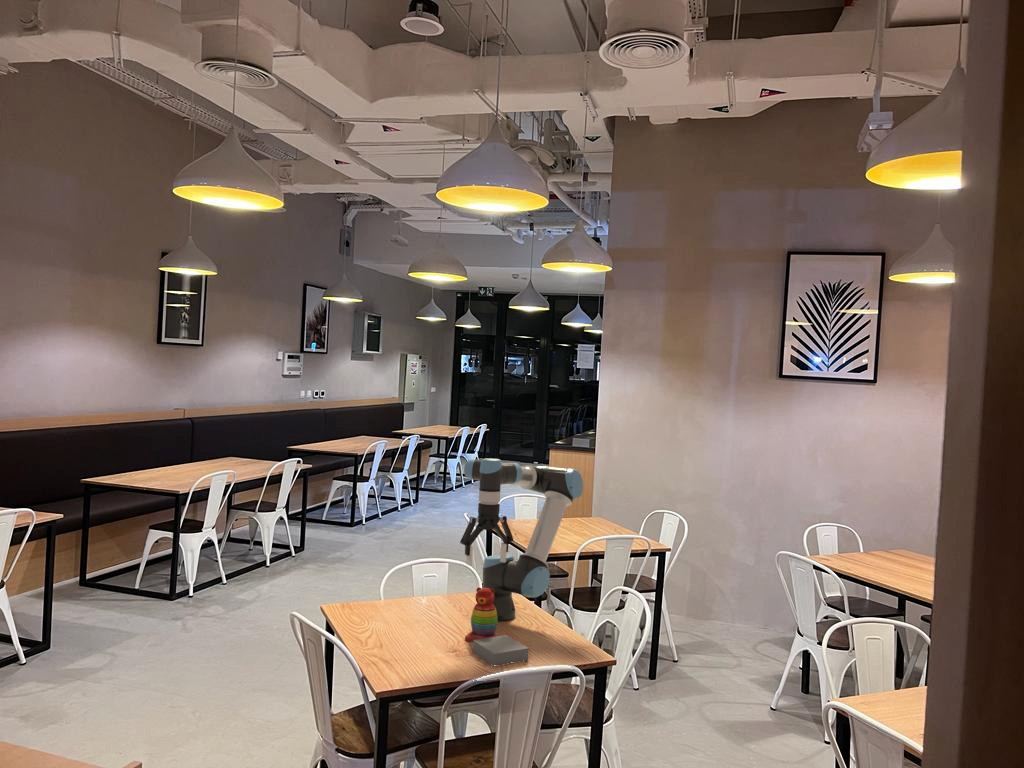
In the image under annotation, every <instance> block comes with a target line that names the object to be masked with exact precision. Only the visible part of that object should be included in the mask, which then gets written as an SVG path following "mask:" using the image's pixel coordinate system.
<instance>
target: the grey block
mask: <svg viewBox="0 0 1024 768" xmlns="http://www.w3.org/2000/svg"><path fill="white" fill-rule="evenodd" d="M529 649H530V648H529V647H528V646H526V645H524V644H522V643H521V642H520V641H517V640H516V639H514V638H512V637H511V636H509V635H508V634H504V635H498V636H497V635H496V637H490V638H483V639H477V640H473V642H472V653H473V654H474V655H476V656H477V657H479V658H481V659H482V660H483V661H484V662H486V663H488V664H489V663H490V664H492V665H493V666H494V665H500V666H503V665H502V664H505V665H508V664H507V663H511V662H517V663H519V662H518V661H522V662H524V661H523V660H528V661H529ZM490 664H489V665H490ZM511 664H512V663H511ZM492 665H491V666H492ZM493 666H492V667H493ZM494 667H495V666H494Z"/></svg>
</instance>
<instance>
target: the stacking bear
mask: <svg viewBox="0 0 1024 768" xmlns="http://www.w3.org/2000/svg"><path fill="white" fill-rule="evenodd" d="M493 601H494V589H489V588H482V587H477V588H476V593H475V602H476V604H475V605H474V607H473V609H472V613H471V617H470V624H471V625H470V626H471V631H470V632H468V633H467V634H466V635H465V637H464V641H466V642H469V643H473V640H477V639H483V638H490V637H496V636H497V634H496V631H497V626H498V622H499V621H498V618H497V612H496V608H495V606H494V605H493V604H492V603H493Z"/></svg>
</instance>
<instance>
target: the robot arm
mask: <svg viewBox="0 0 1024 768" xmlns="http://www.w3.org/2000/svg"><path fill="white" fill-rule="evenodd" d="M463 472H464V476H465V477H466V478H467V479H470V480H473V481H479V487H478V488H479V489H478V490H479V491H478V501H479V503H478V506H477V510H478V511H477V515H478V516H477V517H474V516H470V517H469V522H468V524H467V527H466V529H465V531H464V533H463V535H462V537H461V540H460V541H459V543H460V544H461V545H464V555H465V556H466V562H465V563H466V565H468V566H473V549H474V546H473V543H475V542H474V541H475V540H476V539H477V538H478V537H479V535H480V534H481V533H482V532H483V531H484V530H485V531H488V530H492V531H493V530H494V531H495V532H496V534H497V536H498V537H499V538H500V539H501V541H502V542H500V551H499V552H500V554H495V555H493V554H492V555H489V556H486V557H485V558H484V559H483V567H482V587H481V588H489V589H494V601H493V603H492V604H493V605H494V606H495V608H496V612H497V618H498V621H497V622H503V621H509V620H513V619H514V618H516V608H515V603H514V599H513V595H512V594H513V593H514V594H517V595H521V596H524V597H527V598H529V597H530V598H538V597H539V596H542V595H543V594H544V593H545V591H546V590H547V589H548V586H549V583H550V578H551V575H550V574H551V573H550V571H549V569H548V568H549V565H548V563H547V559H548V557H549V554H550V551H551V550H552V549H551V548H552V546H553V543H554V541H555V539H556V535H557V533H558V530H559V527H560V525H561V522H562V519H563V517H564V513H565V511H566V508H567V507H569V506H571V505H572V503H573V501H574V499H575V500H576V499H579V498H581V496H582V494H583V488H584V480H583V477H582V474H581V472H580V471H579V470H577V469H575V468H570V467H559V466H551V465H524V466H521V465H520V464H519V463H517V462H503V461H502V460H501V459H499V458H491V457H490V458H487V457H486V458H483V459H471V458H470V459H468V460H467V461H466V462H465V464H464V468H463ZM502 485H510V486H511V485H512V486H519V487H521V488H522V489H525V490H529V491H532V492H536V493H539V494H544V498H545V501H544V504H543V506H542V508H541V511H540V515H539V517H538V519H537V521H536V524H535V527H534V529H533V531H532V535H531V537H530V540H529V542H528V545H527V547H526V549H525V552H524V553H521V554H520V555H519V556H518V560H517V561H516V560H515V557H514V556H513V555H512V554H507V553H508V552H509V545H510V544H511V542H514V540H515V539H514V537H513V534H512V531H511V530H510V529H511V528H510V525H509V524H508V519H507V516H506V515H504V514H501V515H500V516H499V514H500V508H501V507H500V506H501V505H500V504H499V503H500V502H501V488H502V487H501V486H502ZM499 522H500V524H501V526H500V525H499ZM476 524H477V525H476ZM500 527H502V529H503V531H504V532H503V531H502V529H501V528H500Z"/></svg>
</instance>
